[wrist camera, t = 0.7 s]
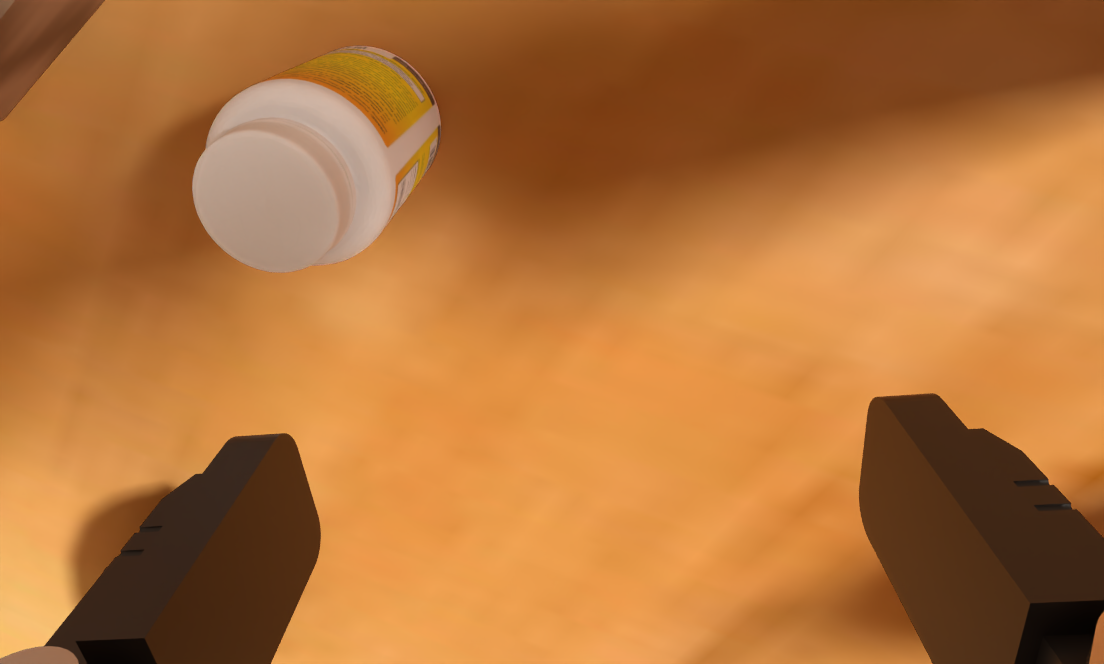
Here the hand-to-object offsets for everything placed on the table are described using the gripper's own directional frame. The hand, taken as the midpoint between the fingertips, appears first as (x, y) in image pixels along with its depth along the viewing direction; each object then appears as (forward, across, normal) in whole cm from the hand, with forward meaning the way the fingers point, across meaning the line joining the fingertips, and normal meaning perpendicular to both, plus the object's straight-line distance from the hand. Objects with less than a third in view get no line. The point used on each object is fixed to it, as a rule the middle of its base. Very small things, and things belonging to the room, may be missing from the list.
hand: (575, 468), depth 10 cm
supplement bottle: (+20, +8, -2) cm, 22 cm away
